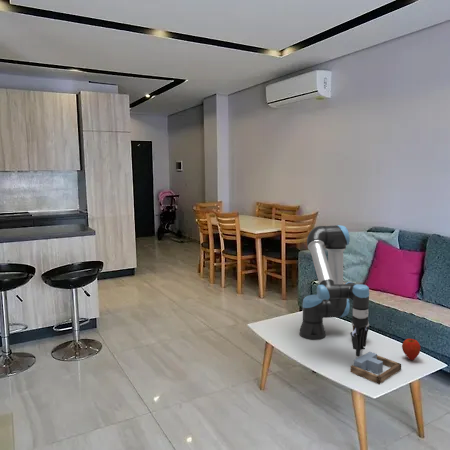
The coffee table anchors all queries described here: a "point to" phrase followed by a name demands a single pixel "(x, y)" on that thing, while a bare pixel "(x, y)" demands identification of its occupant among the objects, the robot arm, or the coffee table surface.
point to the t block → (369, 363)
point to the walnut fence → (382, 377)
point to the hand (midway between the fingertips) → (358, 361)
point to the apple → (411, 348)
